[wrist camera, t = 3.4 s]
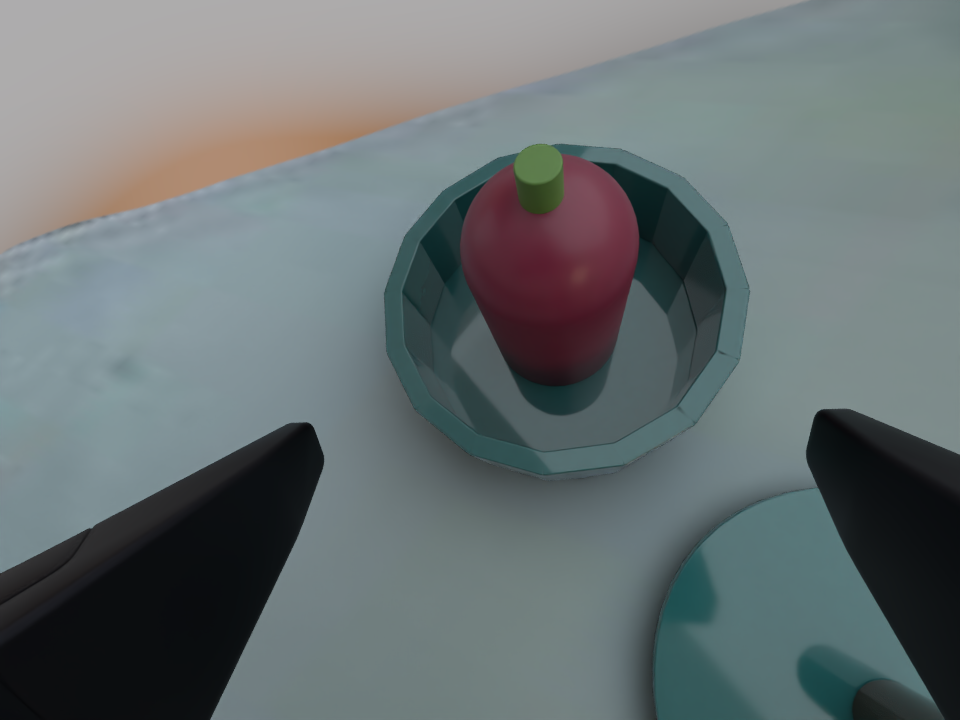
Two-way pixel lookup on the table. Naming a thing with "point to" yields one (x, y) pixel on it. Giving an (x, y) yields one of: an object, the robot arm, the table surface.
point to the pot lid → (779, 627)
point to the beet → (551, 263)
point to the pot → (629, 370)
